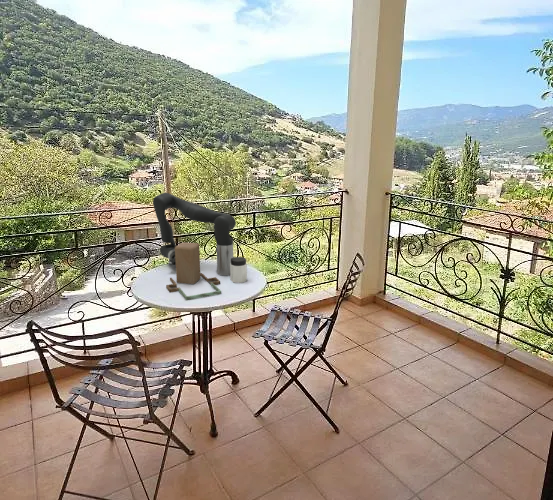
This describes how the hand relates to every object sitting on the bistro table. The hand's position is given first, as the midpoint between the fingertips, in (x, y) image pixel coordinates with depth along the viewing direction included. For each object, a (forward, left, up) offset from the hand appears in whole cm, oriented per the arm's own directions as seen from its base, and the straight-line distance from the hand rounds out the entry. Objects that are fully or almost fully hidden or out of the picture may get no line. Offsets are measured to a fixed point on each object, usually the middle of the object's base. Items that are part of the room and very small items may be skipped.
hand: (184, 265), depth 213 cm
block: (0, +8, -7) cm, 10 cm away
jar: (-24, +19, -7) cm, 31 cm away
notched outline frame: (0, +18, -7) cm, 19 cm away
